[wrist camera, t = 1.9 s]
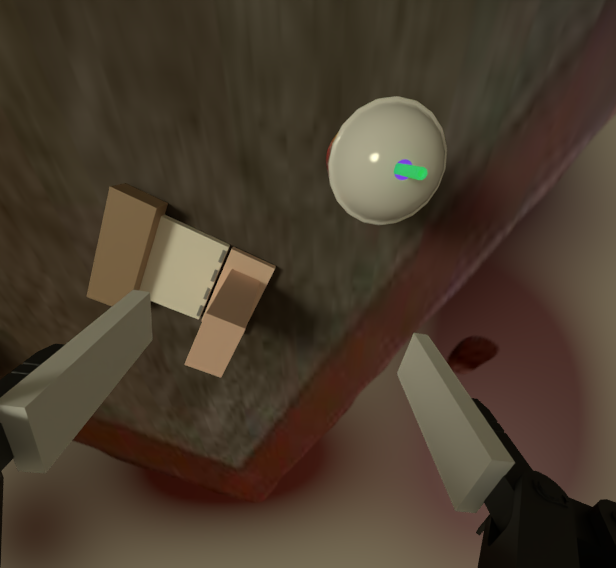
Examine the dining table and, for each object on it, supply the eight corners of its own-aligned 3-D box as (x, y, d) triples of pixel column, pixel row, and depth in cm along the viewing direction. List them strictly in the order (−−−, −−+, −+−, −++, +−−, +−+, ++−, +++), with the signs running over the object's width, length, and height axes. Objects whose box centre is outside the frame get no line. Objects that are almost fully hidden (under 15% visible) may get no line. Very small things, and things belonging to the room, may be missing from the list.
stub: (203, 317, 41) (168, 377, 30) (233, 246, 36) (204, 287, 26) (242, 332, 42) (221, 395, 31) (275, 266, 38) (265, 313, 27)
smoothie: (335, 209, 35) (373, 274, 17) (305, 140, 32) (311, 131, 13) (400, 177, 33) (517, 211, 15) (376, 102, 30) (488, 32, 12)
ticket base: (97, 284, 39) (82, 295, 36) (121, 181, 33) (104, 184, 30) (197, 323, 42) (190, 335, 39) (234, 234, 36) (229, 241, 33)
